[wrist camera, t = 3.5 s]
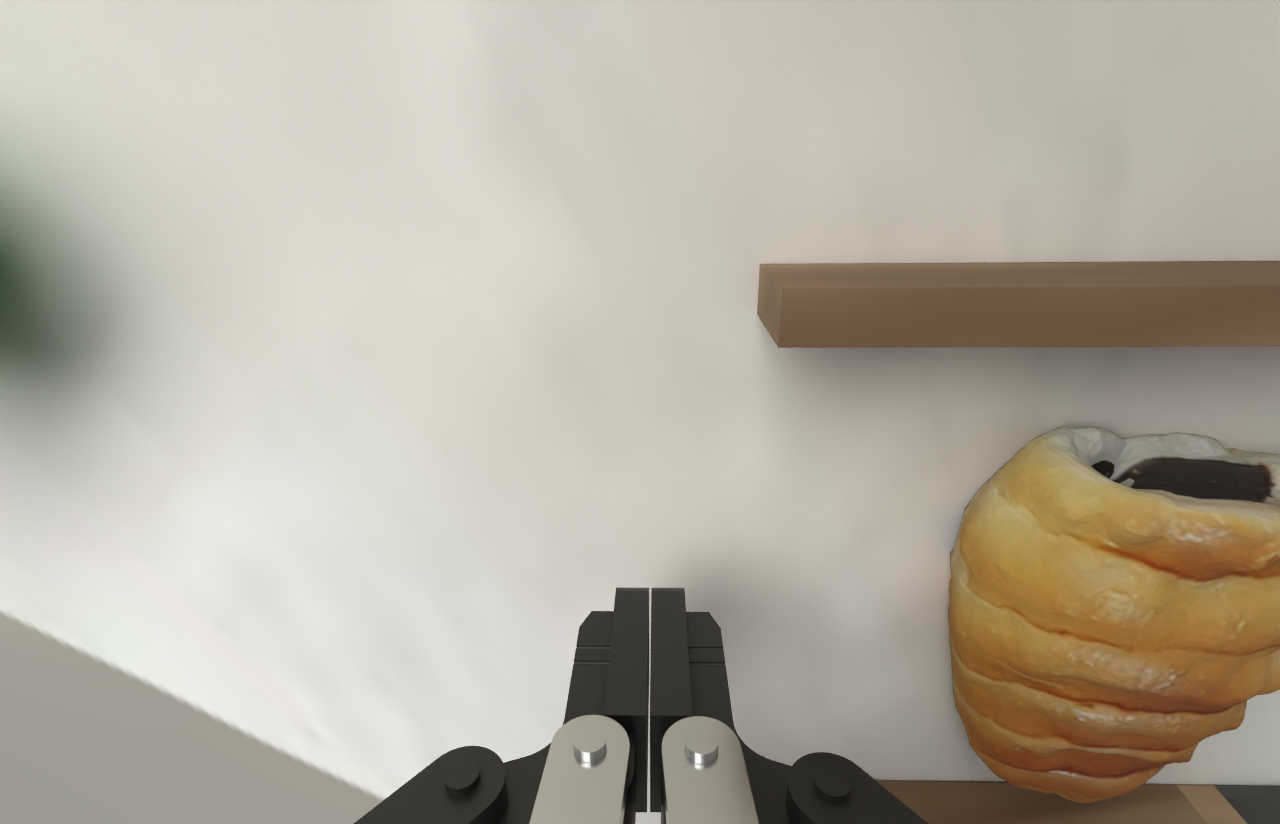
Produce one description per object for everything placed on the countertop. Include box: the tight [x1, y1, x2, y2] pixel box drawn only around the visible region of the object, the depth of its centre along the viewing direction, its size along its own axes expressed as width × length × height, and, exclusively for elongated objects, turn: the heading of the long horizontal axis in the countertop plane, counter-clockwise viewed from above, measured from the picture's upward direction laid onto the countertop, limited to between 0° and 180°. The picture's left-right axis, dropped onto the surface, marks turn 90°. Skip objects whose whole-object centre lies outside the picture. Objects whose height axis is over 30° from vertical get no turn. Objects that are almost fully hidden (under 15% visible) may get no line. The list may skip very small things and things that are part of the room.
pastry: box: [948, 426, 1280, 803], centre depth 14 cm, size 9×7×4 cm
